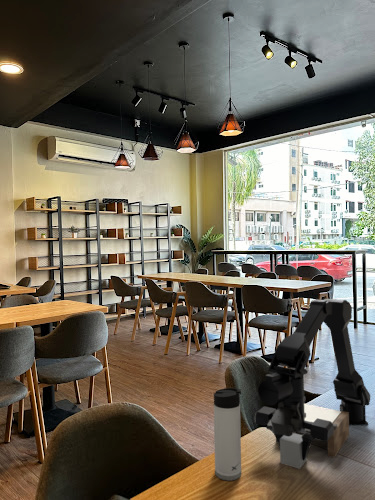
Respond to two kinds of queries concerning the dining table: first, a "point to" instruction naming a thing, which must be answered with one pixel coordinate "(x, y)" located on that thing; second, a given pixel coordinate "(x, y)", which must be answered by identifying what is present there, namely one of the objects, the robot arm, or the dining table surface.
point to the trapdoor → (319, 414)
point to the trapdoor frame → (338, 434)
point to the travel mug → (227, 434)
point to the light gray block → (292, 450)
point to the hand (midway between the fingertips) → (293, 456)
